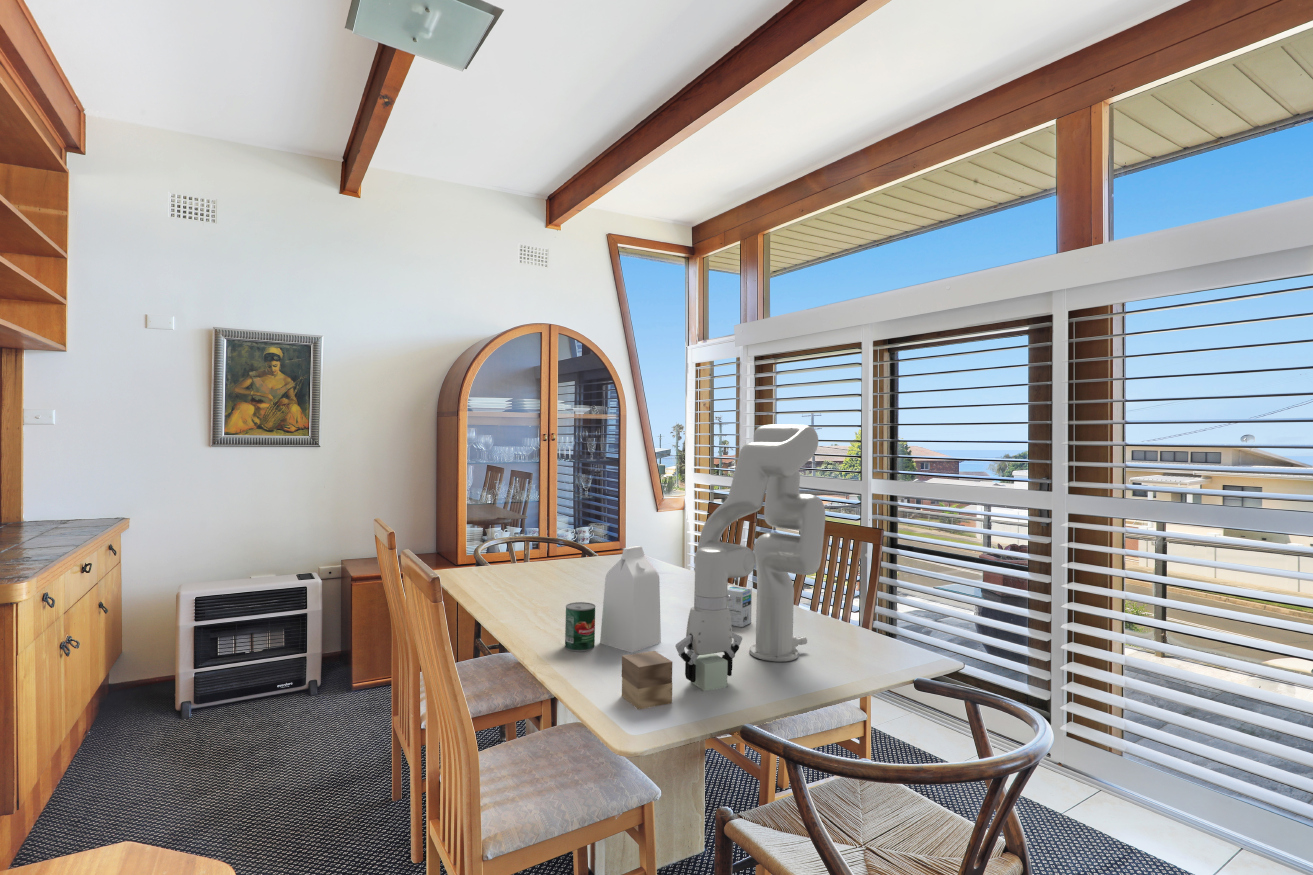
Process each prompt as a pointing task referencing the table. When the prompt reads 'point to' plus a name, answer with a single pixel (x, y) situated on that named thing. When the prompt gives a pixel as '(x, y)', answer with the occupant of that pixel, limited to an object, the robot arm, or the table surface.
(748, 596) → the light bulb box
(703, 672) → the sage cube
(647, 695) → the oak slab
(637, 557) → the milk
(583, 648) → the canned tomato
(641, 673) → the walnut slab
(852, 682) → the table surface
